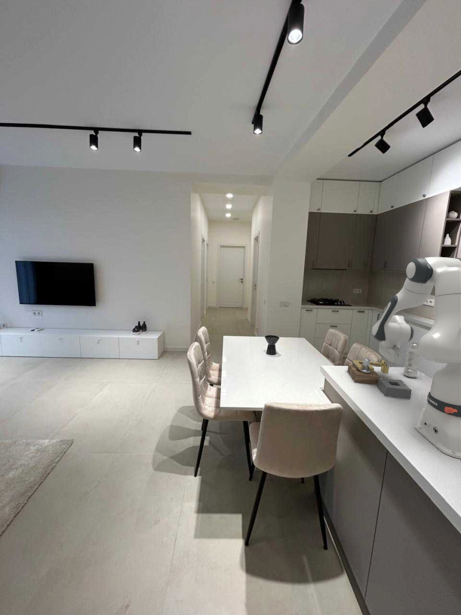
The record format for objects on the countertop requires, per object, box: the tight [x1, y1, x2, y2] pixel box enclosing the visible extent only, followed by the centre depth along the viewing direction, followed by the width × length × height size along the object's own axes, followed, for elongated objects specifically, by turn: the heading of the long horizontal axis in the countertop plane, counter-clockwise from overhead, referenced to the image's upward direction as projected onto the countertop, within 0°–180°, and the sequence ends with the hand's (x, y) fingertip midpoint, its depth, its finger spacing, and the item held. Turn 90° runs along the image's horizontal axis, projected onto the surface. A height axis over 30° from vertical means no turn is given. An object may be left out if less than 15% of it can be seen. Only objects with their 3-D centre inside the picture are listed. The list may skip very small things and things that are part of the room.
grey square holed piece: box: [376, 377, 413, 400], centre depth 130 cm, size 11×11×5 cm
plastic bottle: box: [403, 342, 421, 378], centre depth 150 cm, size 6×7×20 cm
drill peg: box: [360, 357, 371, 374], centre depth 143 cm, size 5×5×12 cm
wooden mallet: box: [352, 359, 390, 374], centre depth 147 cm, size 12×19×7 cm, turn 80°
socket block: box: [347, 361, 381, 386], centre depth 147 cm, size 16×12×6 cm
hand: (387, 366), depth 146 cm, fingers closed
